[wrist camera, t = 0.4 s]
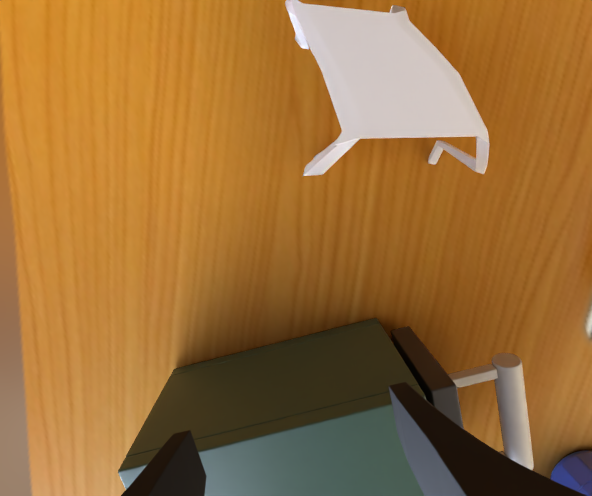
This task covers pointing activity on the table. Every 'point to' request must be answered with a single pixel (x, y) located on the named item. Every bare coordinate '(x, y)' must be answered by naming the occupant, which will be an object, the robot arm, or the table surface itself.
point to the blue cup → (575, 472)
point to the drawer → (444, 386)
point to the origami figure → (386, 82)
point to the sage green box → (289, 418)
